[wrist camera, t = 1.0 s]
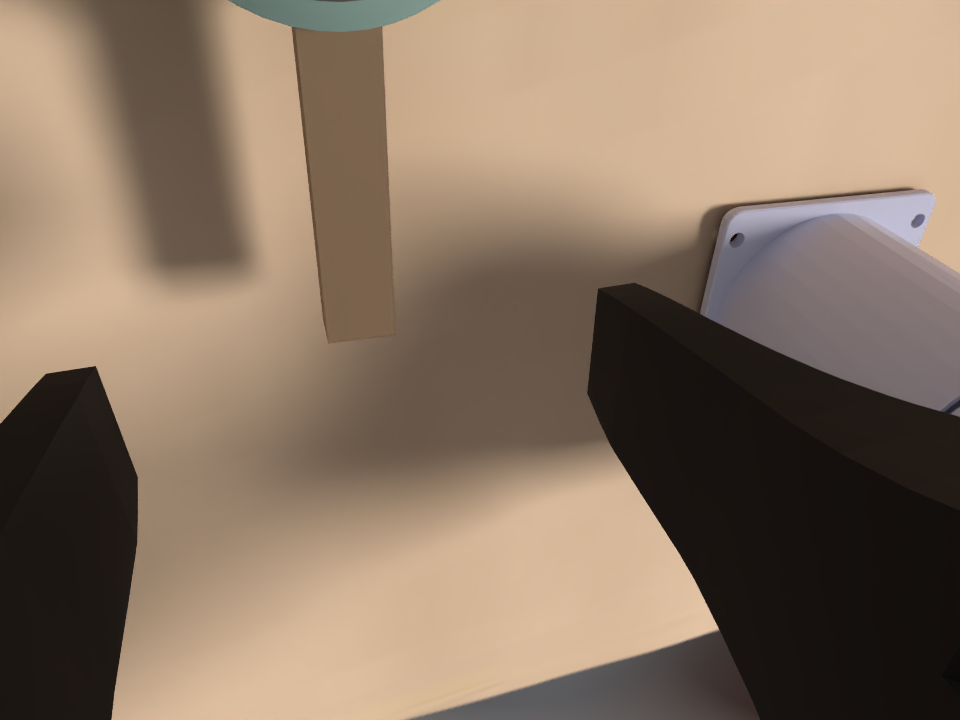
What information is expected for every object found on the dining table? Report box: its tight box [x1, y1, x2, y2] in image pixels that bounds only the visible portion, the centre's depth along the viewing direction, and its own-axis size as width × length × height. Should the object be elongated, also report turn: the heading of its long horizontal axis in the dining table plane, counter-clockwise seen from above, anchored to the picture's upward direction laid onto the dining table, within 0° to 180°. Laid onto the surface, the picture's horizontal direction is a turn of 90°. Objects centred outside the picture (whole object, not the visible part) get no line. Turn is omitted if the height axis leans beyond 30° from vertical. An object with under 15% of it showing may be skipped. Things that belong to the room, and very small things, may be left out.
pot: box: [229, 0, 440, 343], centre depth 15 cm, size 14×7×5 cm, turn 178°
